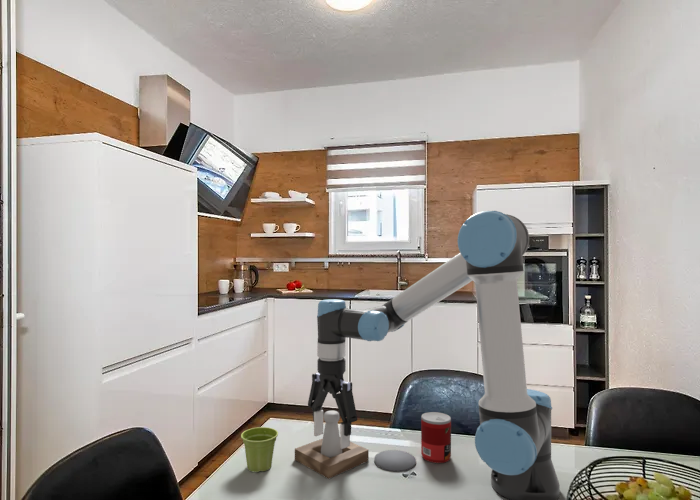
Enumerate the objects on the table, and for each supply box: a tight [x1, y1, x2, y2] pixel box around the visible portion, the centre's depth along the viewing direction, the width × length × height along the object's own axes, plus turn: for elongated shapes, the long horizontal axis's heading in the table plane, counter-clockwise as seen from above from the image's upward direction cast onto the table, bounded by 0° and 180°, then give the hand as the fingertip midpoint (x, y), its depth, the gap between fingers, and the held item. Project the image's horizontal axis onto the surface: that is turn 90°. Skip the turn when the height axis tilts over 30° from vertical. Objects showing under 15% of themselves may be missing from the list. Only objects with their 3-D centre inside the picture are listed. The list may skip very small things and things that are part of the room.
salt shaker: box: [321, 410, 342, 458], centre depth 122 cm, size 6×6×13 cm
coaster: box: [373, 449, 417, 472], centre depth 122 cm, size 11×11×1 cm
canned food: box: [420, 411, 452, 464], centre depth 124 cm, size 8×8×11 cm
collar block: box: [294, 438, 370, 480], centre depth 122 cm, size 14×14×3 cm
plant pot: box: [240, 426, 279, 473], centre depth 118 cm, size 9×9×9 cm
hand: (331, 440), depth 122 cm, fingers open, 10 cm apart
